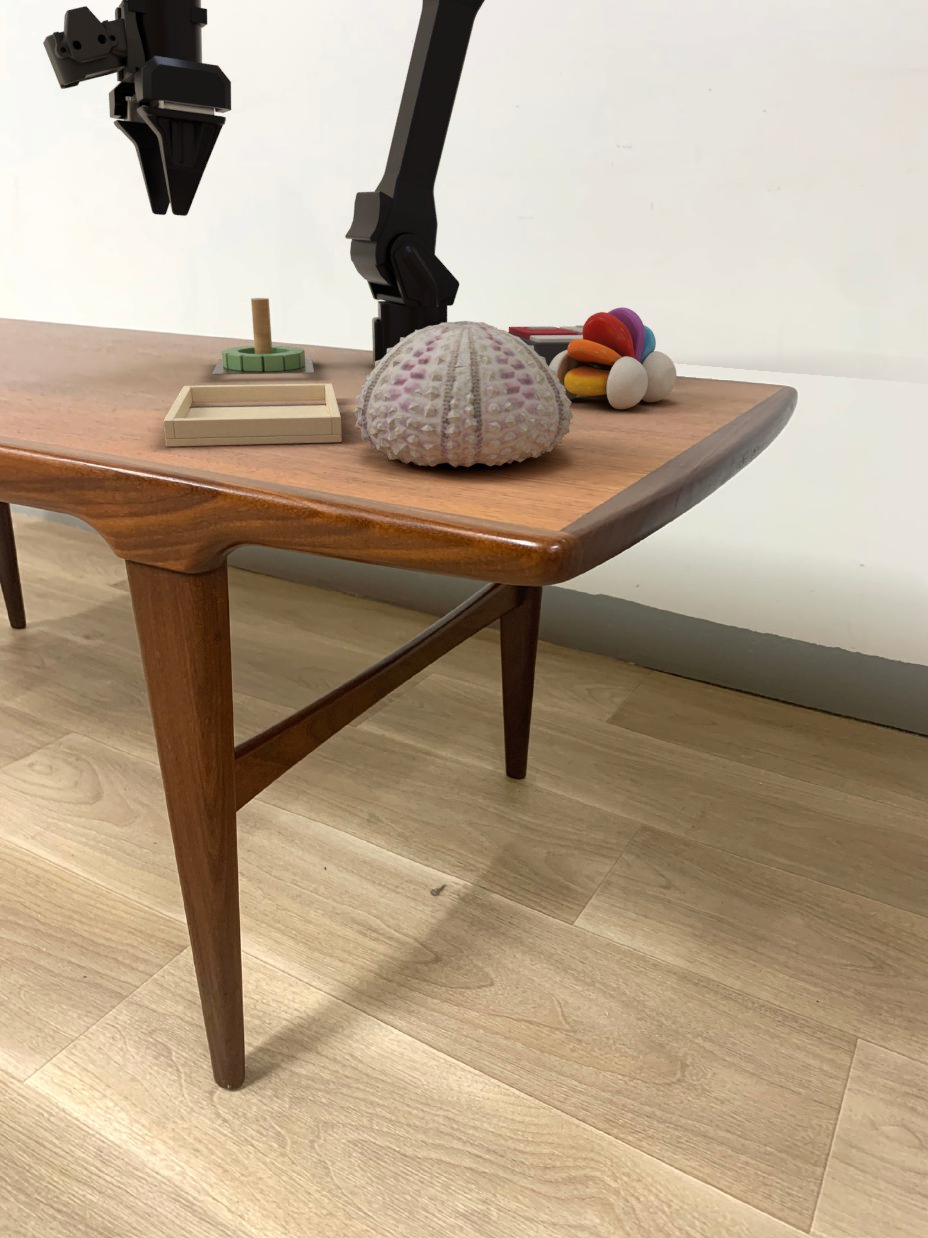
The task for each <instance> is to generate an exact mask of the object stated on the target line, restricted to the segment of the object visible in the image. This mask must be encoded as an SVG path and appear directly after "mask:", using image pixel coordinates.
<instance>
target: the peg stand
mask: <svg viewBox="0 0 928 1238" xmlns="http://www.w3.org/2000/svg"><path fill="white" fill-rule="evenodd" d="M250 302H251V318H252V332H253V333H252V334H253V346H254V347H255V354H272V345H273V341H272V339H273V338H272V327H271V324H272V323H271V312H270V311H271V310H270V298H269V297H252V298H250ZM314 373H315V370H314V363H313V359H312V358H305V366H303V367H302V368H298V369H293V370H283V371H273V372H265V371H262V372H248V371H237V370H230V369H226V368H225V367H224V366H223V359H218V360H217V363H216V364H215V367H214V369H213V371H212V374H211V375H267V374H268V375H269V374H270V375H271V374H272V375H276V374H277V375H278V374H279V375H280V374H314Z"/></svg>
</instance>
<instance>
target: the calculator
mask: <svg viewBox="0 0 928 1238" xmlns="http://www.w3.org/2000/svg"><path fill="white" fill-rule="evenodd" d="M583 326H584V324H582V325H577V324H576V325H574V326H567V325H566V326H565V325H563V326H559V327H556V326H508V331H507V332H508V333H510V334H512V335H514V336H517V337H520V339H521V340H522V341H524V342H525V343H526V344H527V345H530V346H534V350H535V351H536V353H537V354H538V355H539V356H541V357H544V358H545V360H546V363H547V365H548V366H550V363H551V362H552V360H553V359H554V358H555V357H556V356H557V355H558V354H559V353H561V352H563V351H565V350H567V348H568V345H569V344H570V342H572V341H573V340H577V339H583V334H582V331H583Z"/></svg>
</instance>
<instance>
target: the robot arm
mask: <svg viewBox="0 0 928 1238" xmlns="http://www.w3.org/2000/svg"><path fill="white" fill-rule="evenodd" d="M485 1H486V0H422V3H421V4H422V5H421V12H420V17H419V21H418V24H417V25H418V26H417V29H416V34H415V37H414V42H413V47H412V51H411V55H410V61H409V63H408V69H407V73H406V77H405V82H404V86H403V91H402V95H401V98H400V99H401V100H400V103H399V108H398V112H397V117H396V121H395V126H394V128H393V129H394V130H393V133H392V137H391V138H392V139H391V142H390V147H389V151H388V156H387V160H386V164H385V169H384V173H383V175H382V178H381V180H380V181H379V183H378V184H377V186H376V188H375V190H374V191H357V192H356V194H355V199H354V204H353V205H354V206H353V218H352V222H351V225H350V226H349V227H350V228H349V229H348V231H347V232H346V233H345V235H344V237H345V239H347V240H351V242H350V250H349V255H350V261H351V262H352V264H353V266H354V268H355V269H356V271H357V273H358V274H359V275H360V276H361V277H362V278H363V280H366V281H367V285H368V288H369V291H370V293H371V295H372V298H373V299H374V300H377V316H374V317H373V318H372V319H371V332H372V334H371V335H372V336H371V337H372V338H371V339H372V362H373V363H374V364H375V361H378V360H381V359H382V358H383V357H384V356H385V355H386V354H387V349H388V348H392V347H394V346H395V345H396V344H398V343H399V342H400V338H401V337H403V338H405V337H407V336H408V335H409V334H411V333H413V332H415V330H420V329H423V328H426V327H428V326H434V325H439V324H441V323H445V322H448V307H449V306H450V307H452V306H453V305H454V303H455V300H456V298H457V294H458V292H459V288H460V281H459V280H458V278H456V277H455V276H454V274H453V273H452V272H451V271H450V269H448V268H447V266H446V265H445V264H444V263H443V262H442V261H441V259H440V258H439V257H438V256H437V255H436V247H437V236H438V225H439V223H438V215H437V207H436V199H435V183H436V180H437V175H438V172H439V168H440V164H441V159H442V155H443V151H444V148H445V143H446V139H447V134H448V131H449V127H450V122H451V120H452V119H451V118H452V116H453V115H452V113H453V110H454V106H455V103H456V97H457V94H458V89H459V85H460V81H461V77H462V74H463V69H464V64H465V60H466V57H467V53H468V49H469V46H470V45H469V44H470V40H471V37H472V32H473V27H474V24H475V20H476V17H477V15H478V13H479V11H480V9H481V8H482V6H483V4H484V3H485ZM207 25H208V8H206V7H205V8H204V7H202V0H121V1H120V3H119V5H118V6H116V8H115V9H114V20H113V19H112V20H108V19H105V20H102V22H101V21H100V20H99V18H98V17H97V16H96V15H95V14H94V13H93V11H92V10H90V8H89V7H88V6H87V5H85V6H80V7H76V8H71V9H67V10H66V12H65V13H64V17H63V31H54V32H53V33H52V34H50V35H47V36H46V37H45V38H44V41H43V42H42V44H43V46H44V48H45V49H44V50H45V53H46V54H47V56H48V59H49V62H50V65H51V67H52V69H53V72H54V75H55V77H56V79H57V82H58V84H59V87H60V89H61V90H65V89H70V88H74V87H78V86H79V84H80V83H81V82H86V81H89V80H93V79H94V80H95V79H98V78H102V77H106V76H109V75H113V74H116V82H119V83H117V84H116V85H115V86H114V87H113V88H112V89H111V90H110V91H109V92H108V102H109V103H108V106H109V118H110V119H115V120H114V121H113V124H114V126H115V127H116V129H117V130H119V131H120V132H122V134H124V136H125V137H126V138H127V139H128V140H129V141H130V142H131V143H132V144H133V146H134V149H135V152H136V156H137V159H138V164H139V166H140V170H141V174H142V178H143V183H144V186H145V190H146V194H147V198H148V202H149V205H150V211H151V213H152V214H153V215H159V216H165V215H167V213H168V209H169V207H170V208H171V213H172V215H174V216H181V217H186V216H187V215H188V214H189V212H190V210H191V207H192V204H193V202H194V199H195V196H196V193H197V191H198V189H199V186H200V184H201V181H202V178H203V176H204V173H205V170H206V168H207V166H208V163H209V161H210V158H211V156H212V153H213V151H214V148H215V146H216V143H217V141H218V139H219V136H220V133H221V131H222V129H223V127H224V126H225V124H226V122H227V117H226V116H223V115H216V114H215V113H220V114H224V113H228V112H230V111H232V81H231V80H230V79H229V77H228V76H227V75H226V74H225V71H223V70H222V68H221V67H220V66H219V65H217V64H212V63H205V62H203V34H202V29H203V28H205V27H206V26H207Z"/></svg>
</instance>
